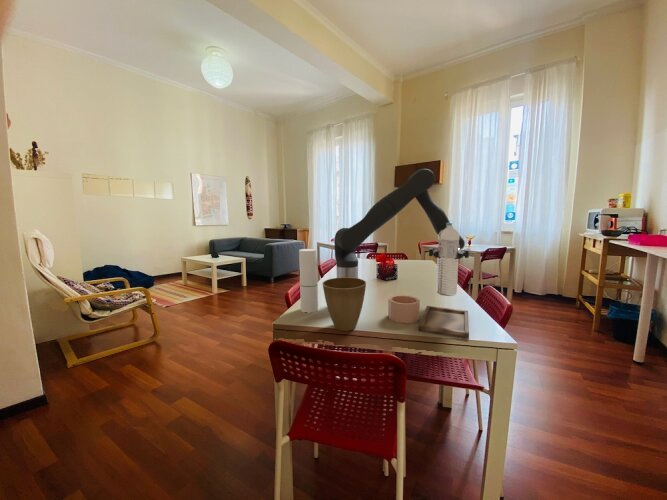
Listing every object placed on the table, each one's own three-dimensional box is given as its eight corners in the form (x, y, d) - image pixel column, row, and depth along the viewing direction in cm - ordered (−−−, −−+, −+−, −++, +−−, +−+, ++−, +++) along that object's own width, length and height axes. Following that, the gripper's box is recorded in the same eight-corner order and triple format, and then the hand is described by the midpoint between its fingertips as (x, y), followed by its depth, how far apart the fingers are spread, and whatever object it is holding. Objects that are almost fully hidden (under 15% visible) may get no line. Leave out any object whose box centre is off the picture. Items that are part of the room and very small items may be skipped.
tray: (418, 330, 91) (418, 325, 91) (426, 309, 111) (426, 305, 111) (468, 338, 85) (469, 333, 85) (467, 315, 105) (468, 310, 104)
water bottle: (455, 297, 92) (458, 223, 89) (434, 294, 96) (436, 223, 92) (458, 292, 98) (461, 222, 95) (438, 289, 102) (440, 222, 98)
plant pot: (332, 316, 105) (332, 276, 103) (370, 321, 99) (370, 278, 97) (316, 332, 91) (315, 285, 89) (359, 339, 86) (359, 289, 84)
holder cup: (385, 320, 101) (385, 301, 100) (392, 310, 111) (392, 294, 110) (416, 325, 96) (416, 305, 95) (420, 314, 106) (421, 297, 105)
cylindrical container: (319, 307, 116) (318, 248, 113) (316, 313, 109) (315, 251, 106) (302, 306, 117) (301, 248, 114) (299, 312, 110) (297, 251, 106)
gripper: (430, 239, 110) (425, 243, 95) (470, 240, 104) (471, 245, 89) (430, 257, 111) (425, 264, 96) (469, 259, 105) (470, 267, 90)
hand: (447, 255), depth 93 cm, fingers closed on water bottle, 7 cm apart
